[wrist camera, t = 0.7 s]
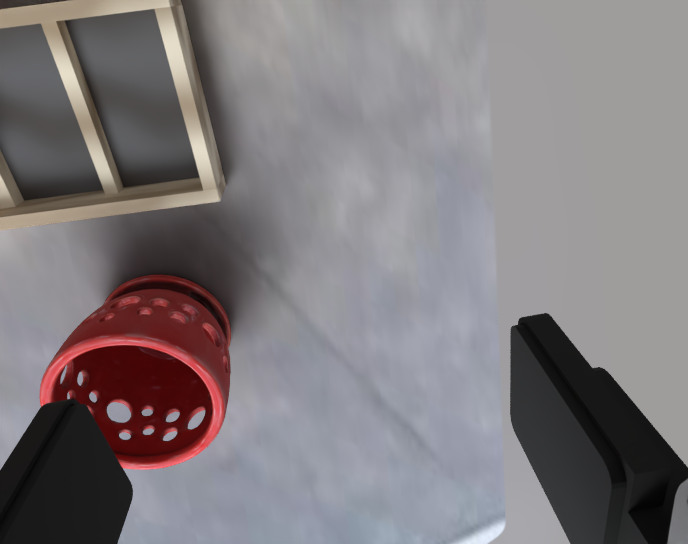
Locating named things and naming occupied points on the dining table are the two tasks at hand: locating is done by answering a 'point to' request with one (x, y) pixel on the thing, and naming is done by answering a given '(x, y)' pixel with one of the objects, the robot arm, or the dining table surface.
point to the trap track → (101, 113)
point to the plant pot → (149, 368)
